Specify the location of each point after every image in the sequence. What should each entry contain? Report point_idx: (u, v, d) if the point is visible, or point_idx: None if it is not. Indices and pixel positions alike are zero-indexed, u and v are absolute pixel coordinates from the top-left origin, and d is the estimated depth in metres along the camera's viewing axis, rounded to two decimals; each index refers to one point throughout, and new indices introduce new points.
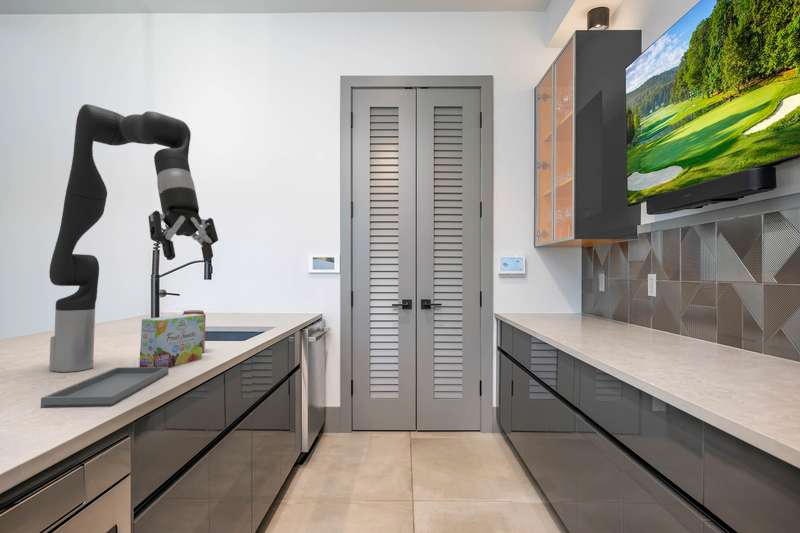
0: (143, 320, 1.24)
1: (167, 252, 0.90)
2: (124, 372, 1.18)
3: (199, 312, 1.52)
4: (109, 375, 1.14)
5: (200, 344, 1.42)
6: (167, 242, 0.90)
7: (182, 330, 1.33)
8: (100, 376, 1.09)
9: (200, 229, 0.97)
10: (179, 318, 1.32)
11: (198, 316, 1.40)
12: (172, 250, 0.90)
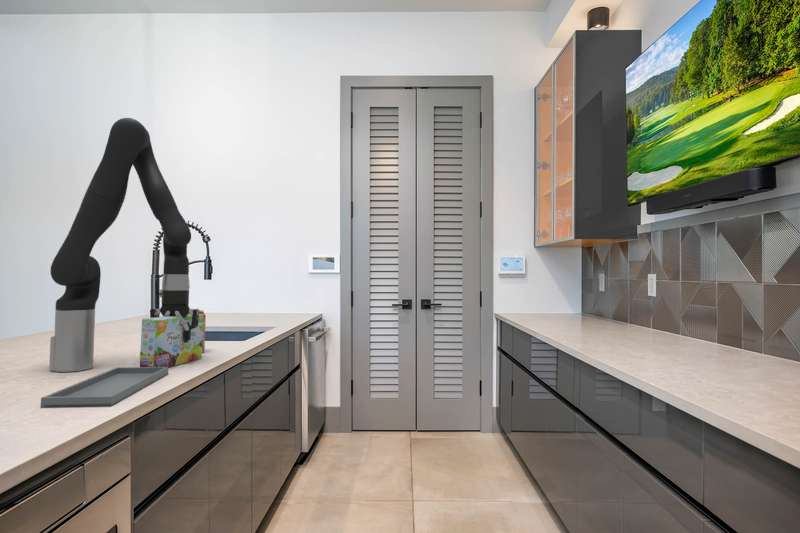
0: (143, 320, 1.24)
1: None
2: (124, 372, 1.18)
3: (199, 312, 1.52)
4: (109, 375, 1.14)
5: (200, 343, 1.42)
6: None
7: (182, 330, 1.33)
8: (100, 376, 1.09)
9: None
10: (179, 318, 1.32)
11: None
12: None
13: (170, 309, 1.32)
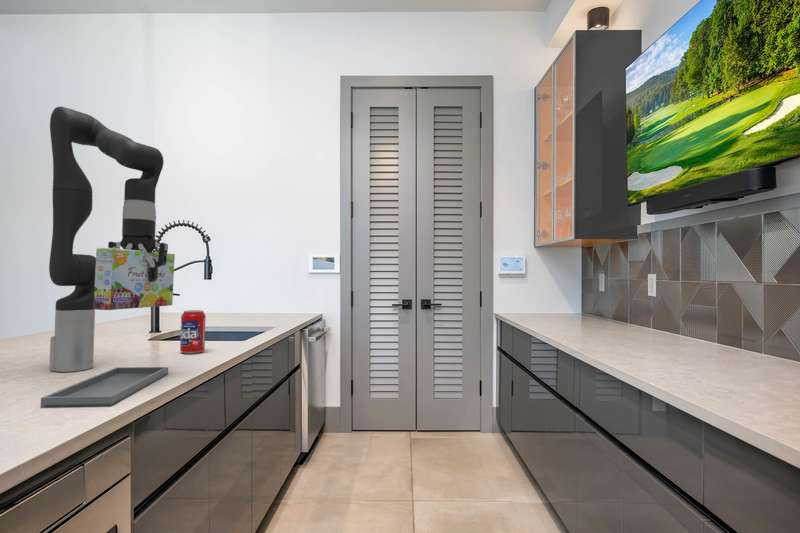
0: (98, 249, 1.03)
1: None
2: (124, 372, 1.18)
3: (199, 312, 1.52)
4: (109, 375, 1.14)
5: (170, 287, 1.22)
6: None
7: (147, 267, 1.13)
8: (100, 376, 1.09)
9: None
10: (143, 252, 1.12)
11: (167, 254, 1.20)
12: None
13: (132, 242, 1.12)
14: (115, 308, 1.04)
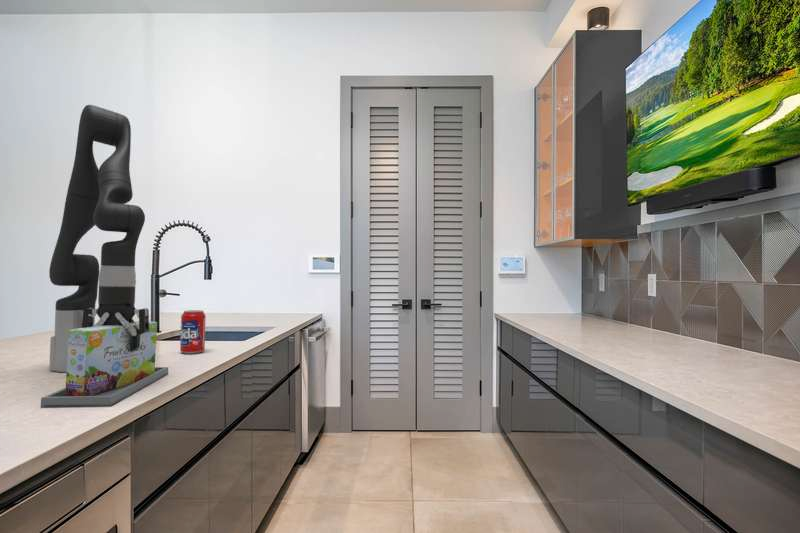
0: (71, 331, 0.95)
1: None
2: None
3: (199, 312, 1.52)
4: None
5: (152, 359, 1.13)
6: None
7: (126, 343, 1.04)
8: None
9: None
10: (122, 327, 1.03)
11: (149, 324, 1.12)
12: None
13: (109, 310, 1.04)
14: (89, 395, 0.95)
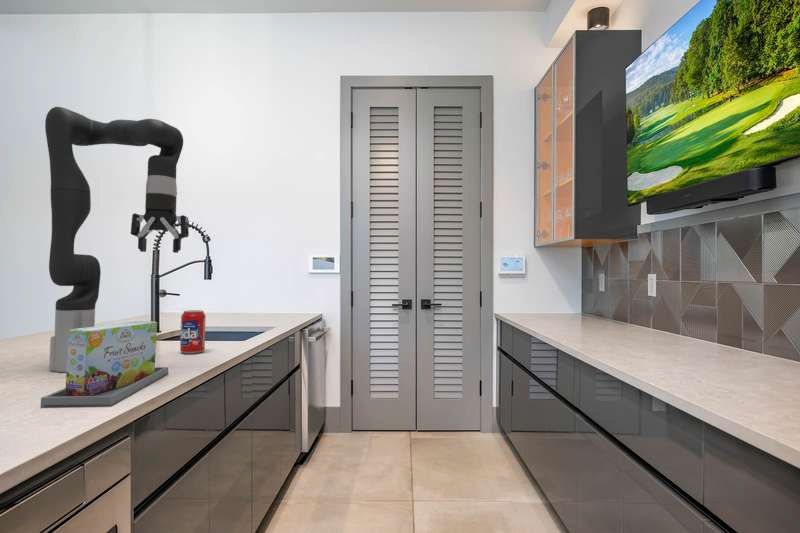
0: (71, 331, 0.95)
1: None
2: None
3: (199, 312, 1.52)
4: None
5: (152, 359, 1.13)
6: None
7: (126, 343, 1.04)
8: None
9: None
10: (122, 327, 1.03)
11: (149, 324, 1.12)
12: None
13: (155, 216, 1.18)
14: (89, 395, 0.95)
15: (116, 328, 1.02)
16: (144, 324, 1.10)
